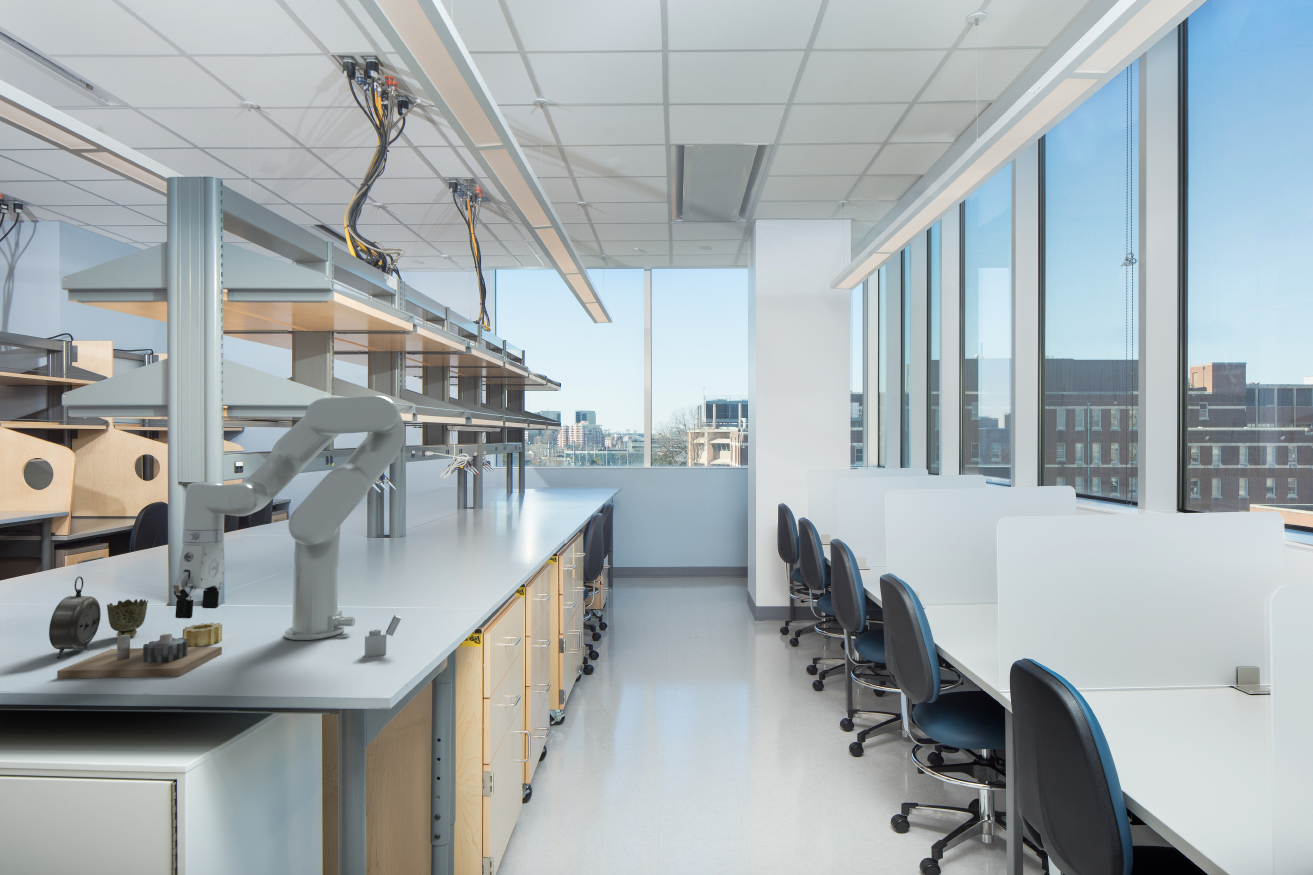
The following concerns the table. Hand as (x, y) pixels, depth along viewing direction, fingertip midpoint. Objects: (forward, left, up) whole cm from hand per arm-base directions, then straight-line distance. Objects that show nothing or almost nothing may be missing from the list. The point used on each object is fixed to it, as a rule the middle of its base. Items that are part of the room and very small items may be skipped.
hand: (197, 612), depth 148 cm
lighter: (-44, +11, -7) cm, 46 cm away
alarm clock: (+21, +6, -7) cm, 23 cm away
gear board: (+1, +16, -7) cm, 17 cm away
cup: (+19, -6, -7) cm, 21 cm away
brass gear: (-1, 0, -7) cm, 7 cm away
